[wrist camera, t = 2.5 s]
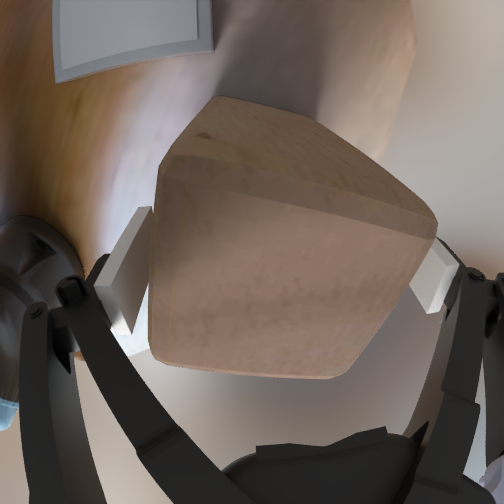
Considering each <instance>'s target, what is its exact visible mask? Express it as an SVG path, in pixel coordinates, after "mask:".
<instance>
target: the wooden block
mask: <svg viewBox="0 0 504 504" xmlns="http://www.w3.org/2000/svg"><path fill="white" fill-rule="evenodd" d="M437 227H438V222H437V220H436V217H435V215H434V213H433V212H432V211H431V210H430V208H429V207H428V206H427V205H426V203H425V202H424V201H423V200H422V199H420V198H419V197H418V196H417V195H416V194H415V193H413V192H412V191H411V190H410V189H409V188H407V187H406V186H405V185H404V184H403V183H401V182H400V181H399V180H398V179H396V178H395V177H394V176H393V175H391V174H390V173H389V172H388V171H386V170H385V169H384V168H382V167H381V166H380V165H379V164H377V163H376V162H375V161H373V160H372V159H371V158H369V157H368V156H366V155H365V154H364V153H362V152H361V151H360V150H358V149H357V148H355V147H354V146H353V145H351V144H350V143H348V142H347V141H345V140H344V139H342V138H341V137H339V136H338V135H336V134H335V133H333V132H332V131H330V130H329V129H327V128H326V127H324V126H323V125H321V124H320V123H318V122H316V121H315V120H313V119H312V118H310V117H306V116H303V115H299V114H296V113H292V112H289V111H285V110H282V109H278V108H274V107H270V106H266V105H262V104H258V103H254V102H249V101H245V100H240V99H235V98H231V97H226V96H217V97H213V98H212V99H211V100H210V101H209V102H208V103H207V104H206V105H205V107H204V108H203V109H202V110H201V111H200V112H199V113H198V114H197V116H196V117H195V118H194V119H193V120H192V121H191V122H190V124H189V125H188V126H187V127H186V128H185V130H184V131H183V132H182V133H181V134H180V136H179V137H178V138H177V139H176V140H175V142H174V143H173V144H172V146H171V147H170V149H169V150H168V152H167V153H166V155H165V157H164V158H163V160H162V162H161V163H160V165H159V169H158V176H157V184H156V193H155V202H154V212H153V223H152V235H151V249H150V266H149V290H148V342H149V346H150V349H151V353H152V355H153V357H154V358H155V359H156V360H158V361H160V362H162V363H164V364H166V365H170V366H176V367H182V368H190V369H197V370H204V371H212V372H220V373H230V374H239V375H251V376H264V377H280V378H305V379H330V378H333V377H336V376H339V375H341V374H343V373H344V372H346V371H347V370H348V369H349V368H350V366H351V365H352V364H353V363H354V361H355V360H356V359H357V358H358V356H359V355H360V354H361V352H362V351H363V350H364V349H365V347H366V346H367V344H368V343H369V342H370V341H371V339H372V338H373V336H374V335H375V334H376V332H377V331H378V330H379V328H380V327H381V325H382V324H383V323H384V321H385V320H386V318H387V317H388V315H389V314H390V312H391V311H392V309H393V308H394V307H395V305H396V304H397V302H398V300H399V299H400V297H401V296H402V294H403V293H404V291H405V290H406V288H407V286H408V285H409V283H410V282H411V280H412V279H413V277H414V275H415V274H416V272H417V270H418V269H419V267H420V265H421V263H422V262H423V260H424V258H425V257H426V255H427V253H428V251H429V249H430V248H431V246H432V244H433V242H434V240H435V237H436V232H437Z"/></svg>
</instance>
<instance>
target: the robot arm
mask: <svg viewBox="0 0 504 504" xmlns="http://www.w3.org/2000/svg"><path fill="white" fill-rule="evenodd" d="M152 223H153V211H152V206H147V207H138V209H137V211H136V212H135V214H134V215H133V217H132V219H131V220H130V222H129V224H128V225H127V227H126V228H125V230H124V232H123V234H122V235H121V237H120V239H119V240H118V242H117V244H116V245H115V247H114V249H113V251H112V252H111V254H104V255H103V256H101V257H100V258H99V259H98V260H97V261H96V263H95V265H94V267H93V269H92V270H91V272H90V274H89V275H88V277H87V279H86V281H84V273H83V269H82V266H81V263H80V261H79V259H78V257H77V255H76V253H75V251H74V250H73V248H72V247H71V245H70V244H69V243H68V242H67V240H66V239H65V238H64V237H63V236H62V235H61V234H60V233H59V232H58V231H57V230H55V229H54V228H53V227H51V226H50V225H48V224H47V223H45V222H43V221H41V220H39V219H37V218H34V217H30V216H17V217H14V218H11V219H10V220H8V221H7V222H6V223H5V224H4V225H3V226H2V227H1V228H0V430H5V429H7V428H9V426H10V425H11V423H12V421H13V418H14V415H15V413H16V411H17V408H19V414H20V415H19V416H20V431H21V441H22V450H23V457H24V464H25V471H26V477H27V482H28V487H29V492H30V494H29V504H107V502H106V499H105V496H104V492H103V489H102V486H101V483H100V480H99V477H98V474H97V470H96V467H95V464H94V460H93V457H92V453H91V450H90V445H89V441H88V437H87V433H86V429H85V425H84V420H83V415H82V409H81V404H80V398H79V393H78V386H77V379H76V372H75V365H74V355H73V352H76V351H81V353H82V355H83V357H84V359H85V361H86V363H87V366H88V368H89V370H90V372H91V374H92V376H93V378H94V380H95V382H96V383H97V386H98V387H99V389H100V391H101V393H102V395H103V397H104V399H105V400H106V402H107V404H108V406H109V407H110V409H111V411H112V413H113V414H114V416H115V418H116V419H117V421H118V423H119V424H120V426H121V428H122V429H123V431H124V432H125V434H126V435H127V437H128V438H129V440H130V442H131V443H132V445H133V446H134V448H135V449H136V454H137V456H138V458H139V459H140V461H141V462H142V464H143V465H144V466H145V468H146V469H147V470H148V472H149V473H150V475H151V476H152V477H153V479H154V480H155V481H156V483H158V485H159V486H160V488H161V489H162V490H163V491H164V492H165V494H166V495H167V496H168V497H169V499H170V500H171V501H172V502H173V503H174V504H504V273H498V275H497V277H496V279H495V281H493V280H487V279H486V277H485V276H484V274H483V273H482V272H480V271H479V270H477V269H475V268H471V267H468V268H467V267H466V266H465V265H464V264H463V263H462V261H461V260H460V259H459V258H458V257H457V256H456V254H454V252H453V251H452V250H451V249H450V248H449V247H448V245H447V244H446V243H445V242H444V241H442V240H441V239H439V238H438V237H435V240H434V242H433V244H432V246H431V248H430V249H429V251H428V253H427V255H426V257H425V258H424V260H423V262H422V263H421V265H420V267H419V269H418V270H417V272H416V274H415V275H414V277H413V279H412V280H411V282H410V283H409V285H410V287H411V289H412V290H413V292H414V293H415V295H416V297H417V298H418V300H419V301H420V303H421V305H422V306H423V308H424V310H425V312H426V313H427V314H428V313H434V312H439V310H440V308H441V306H442V304H443V302H444V303H445V304H446V306H447V309H446V311H445V313H444V315H443V317H442V319H441V321H440V323H439V325H441V324H442V325H441V329H440V333H439V338H438V341H437V345H436V348H435V352H434V356H433V359H432V362H431V365H430V368H429V371H428V374H427V377H426V380H425V383H424V387H423V389H422V392H421V395H420V397H419V400H418V403H417V405H416V408H415V410H414V413H413V415H412V418H411V420H410V422H409V425H408V427H407V429H406V430H405V432H404V433H403V435H398V434H391V433H387V430H386V427H385V426H384V427H380V428H376V429H372V430H367V431H363V432H358V433H355V434H353V435H351V436H349V437H347V438H344V439H342V440H340V441H338V442H335V443H333V444H331V445H328V446H311V445H301V444H291V443H287V444H276V445H263V446H256V453H252V454H249V455H246V456H244V457H242V458H239V459H237V460H236V461H234V462H232V463H231V464H229V465H228V466H227V467H225V468H224V469H223V470H222V471H220V470H219V469H218V468H217V467H216V466H215V465H214V463H213V462H212V461H211V460H210V459H209V458H208V457H207V456H206V455H205V454H204V453H203V452H202V451H201V450H200V448H199V447H198V446H197V445H196V444H195V443H194V442H193V441H192V440H191V439H190V437H189V436H188V435H187V434H186V433H185V432H184V430H183V429H182V428H181V427H180V426H178V425H177V424H176V423H175V421H174V420H173V419H172V418H171V416H170V415H169V414H168V413H167V411H166V410H165V409H164V408H163V406H162V405H161V404H160V402H159V401H158V400H157V399H156V397H155V396H154V395H153V393H152V392H151V390H150V389H149V388H148V387H147V385H146V384H145V382H144V381H143V379H142V378H141V377H140V375H139V374H138V372H137V371H136V369H135V368H134V366H133V365H132V363H131V362H130V360H129V359H128V357H127V356H126V354H125V353H124V351H123V350H122V348H121V346H120V345H119V343H118V342H117V340H116V339H115V337H114V335H113V334H112V332H111V330H110V329H111V326H112V328H113V330H114V332H115V334H116V335H132V333H133V329H134V326H135V323H136V319H137V316H138V313H139V310H140V307H141V303H142V300H143V297H144V294H145V291H146V288H147V285H148V282H149V266H150V249H151V235H152ZM482 358H483V368H484V380H485V396H486V467H487V469H486V472H485V475H484V476H482V477H481V479H480V480H479V484H478V483H476V482H474V481H473V480H471V479H470V478H468V477H467V476H465V475H464V474H463V471H464V468H465V465H466V462H467V459H468V456H469V453H470V449H471V446H472V443H473V439H474V435H475V431H476V427H477V423H478V419H479V414H480V405H479V404H477V403H475V398H476V392H477V387H478V382H479V376H480V369H481V362H482Z"/></svg>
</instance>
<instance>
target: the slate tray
mask: <svg viewBox="0 0 504 504" xmlns="http://www.w3.org/2000/svg"><path fill="white" fill-rule="evenodd" d="M52 34H53V57H54V70H55V81H56V84H57V83H62V82H68V81H73V80H76V79H79V78H82V77H86V76H89V75H93V74H96V73H100V72H103V71H107V70H111V69H115V68H119V67H124V66H128V65H133V64H137V63H142V62H147V61H153V60H159V59H165V58H171V57H178V56H186V55H194V54H203V53H214V44H213V20H212V0H53V8H52Z"/></svg>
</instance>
